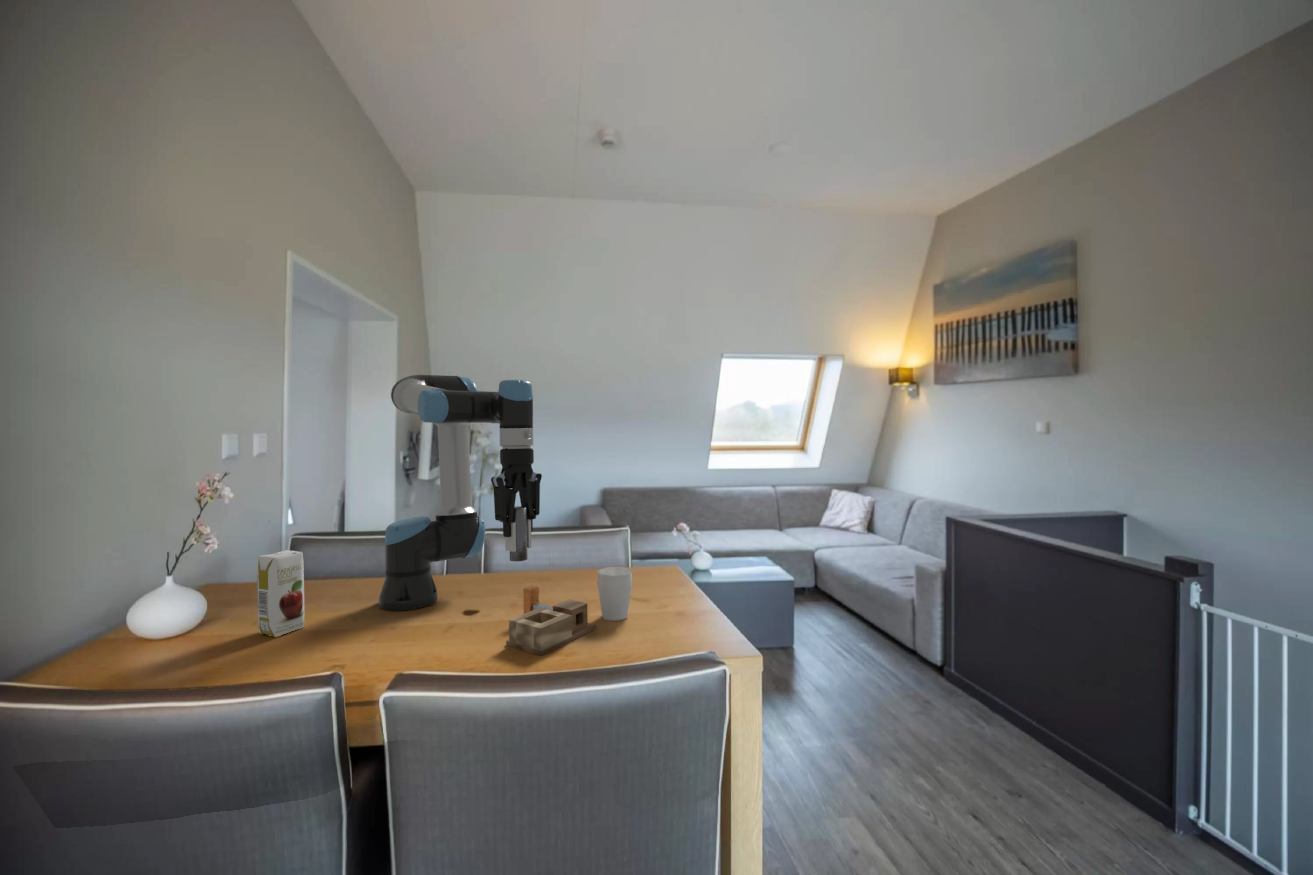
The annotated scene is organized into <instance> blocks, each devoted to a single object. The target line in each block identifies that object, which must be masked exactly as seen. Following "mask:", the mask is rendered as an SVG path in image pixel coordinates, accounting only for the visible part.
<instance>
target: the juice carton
mask: <svg viewBox="0 0 1313 875" xmlns="http://www.w3.org/2000/svg"><path fill="white" fill-rule="evenodd" d="M256 563H257V565H256V584H257V586H256V588H257V589H256V592H257V594H256V595H257V598H256V599H257V626H258V631H259V634H260V633H261V634H260V635H262V634H266V635H271V636H280V635H283V634H285V633H288V632H291V631H294V630H296V629H300V628H302V629H304V628H303V627H305V617H306V616H305V615H306V614H305V575H304V574H305V570H304V567H305V566H304V564H305V562H304V554H303V552H302V551H297V550H286V549H284V550H281V551H278V552H275V553H272V554H263V555H258V556H257V561H256ZM300 630H301V629H300ZM294 632H295V631H294ZM291 633H292V632H291ZM288 634H289V633H288ZM266 635H265V636H266ZM271 636H270V637H271ZM283 636H284V635H283ZM280 637H281V636H280Z"/></svg>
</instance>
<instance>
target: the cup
mask: <svg viewBox="0 0 1313 875" xmlns="http://www.w3.org/2000/svg"><path fill="white" fill-rule="evenodd" d="M632 574H633V573H632V570H631V569H630V568H628V567H623V566H607V567H603V568H600V569H598V571H597V582H596V583H597V589H598V590H597V591H598V597H599V603H600V604H599V605H600V610H601V611H600V612H601V617H602V619H604V620H606V621H610V622H611V621H613V622H617V621H622V620H625V619H627V618H628V616H629V608H630V607H629V606H630V600H631V595H632V594H631V593H632V592H631V591H632V585H633V577H632Z"/></svg>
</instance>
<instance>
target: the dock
mask: <svg viewBox="0 0 1313 875" xmlns="http://www.w3.org/2000/svg"><path fill="white" fill-rule="evenodd" d="M552 606H553V611H552V610H548V609H544V608H538V609H536V610H533V611H531V612H528V613H525V614H524V613H523V614H521V615H518V616H515V617H513V618H510V619H508V630H509V631H508V639H507V640H506V641H505V646H508V647H510V648H511V647H512V648H514V649H518V650H521V651H525V652H528V653H531V654H534V655H538V656H544V655H546V654H548V653H550V652H552V651H554V650H556V649H558V648H561V647H562V646H565V645H566V644H568V643H571V642H572V641H575V640H577V639H579V638H581V637H583V636H585V635H587V634H589V633H591V632H593V631H595V630H597V624H595V623H590V622H588V603H587V602H583V601H579V600H575V599H570V598H569V599H566V600H564V601H561V602H558V603H556V604H553V605H552Z"/></svg>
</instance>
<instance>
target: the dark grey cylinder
mask: <svg viewBox="0 0 1313 875" xmlns="http://www.w3.org/2000/svg"><path fill="white" fill-rule="evenodd" d="M512 522H516V551H515V552H512V551H509V561H510V562H523V561H527V560H528V559H529V558H528V548H527V507H525V506H521V505H519V506H515V507H514V514H513V521H512Z"/></svg>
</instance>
